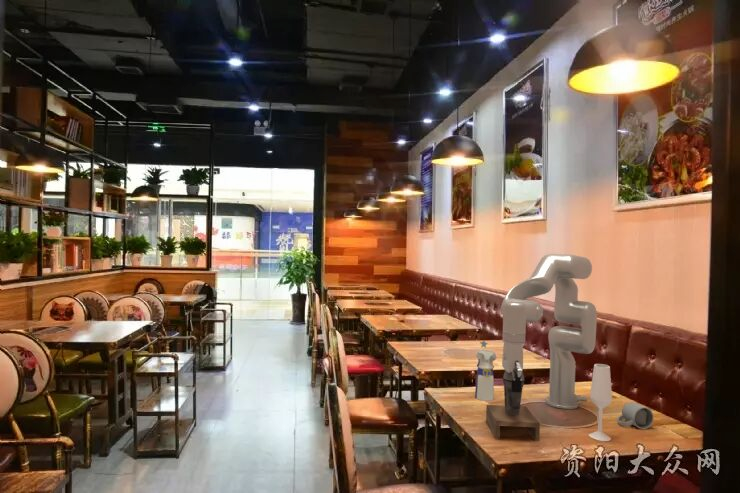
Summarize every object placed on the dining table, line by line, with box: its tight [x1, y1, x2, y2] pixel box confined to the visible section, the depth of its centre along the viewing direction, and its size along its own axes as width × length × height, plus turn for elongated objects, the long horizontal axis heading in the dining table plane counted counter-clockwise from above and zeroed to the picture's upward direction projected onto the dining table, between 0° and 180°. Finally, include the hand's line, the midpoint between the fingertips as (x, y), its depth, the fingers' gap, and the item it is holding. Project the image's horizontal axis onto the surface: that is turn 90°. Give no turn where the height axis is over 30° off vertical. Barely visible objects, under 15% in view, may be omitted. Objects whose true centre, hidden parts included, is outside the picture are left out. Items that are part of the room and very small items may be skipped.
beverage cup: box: [502, 370, 525, 415], centre depth 164 cm, size 7×7×20 cm
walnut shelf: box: [485, 404, 541, 442], centre depth 164 cm, size 14×16×6 cm
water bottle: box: [474, 339, 497, 402], centre depth 199 cm, size 8×9×25 cm
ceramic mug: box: [616, 402, 654, 430], centre depth 173 cm, size 11×8×8 cm
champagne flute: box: [588, 363, 613, 442], centre depth 160 cm, size 7×7×24 cm
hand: (512, 387), depth 164 cm, fingers open, 9 cm apart
